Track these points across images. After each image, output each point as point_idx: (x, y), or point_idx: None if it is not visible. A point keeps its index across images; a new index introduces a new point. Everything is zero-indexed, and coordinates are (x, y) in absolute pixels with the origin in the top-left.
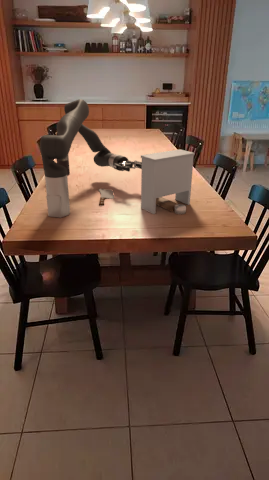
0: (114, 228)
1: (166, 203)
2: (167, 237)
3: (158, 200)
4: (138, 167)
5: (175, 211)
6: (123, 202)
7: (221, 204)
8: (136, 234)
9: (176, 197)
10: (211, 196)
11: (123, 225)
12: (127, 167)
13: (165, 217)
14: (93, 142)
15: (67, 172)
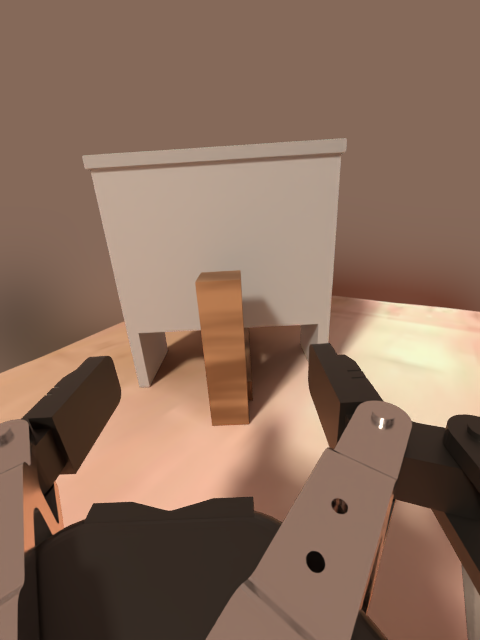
0: (447, 327)
1: (245, 338)
2: (334, 296)
3: (249, 356)
4: (55, 482)
5: (248, 328)
6: None
7: (105, 331)
8: (391, 307)
9: (150, 373)
10: (38, 364)
11: (419, 329)
12: (335, 360)
13: (289, 328)
14: None
15: None
